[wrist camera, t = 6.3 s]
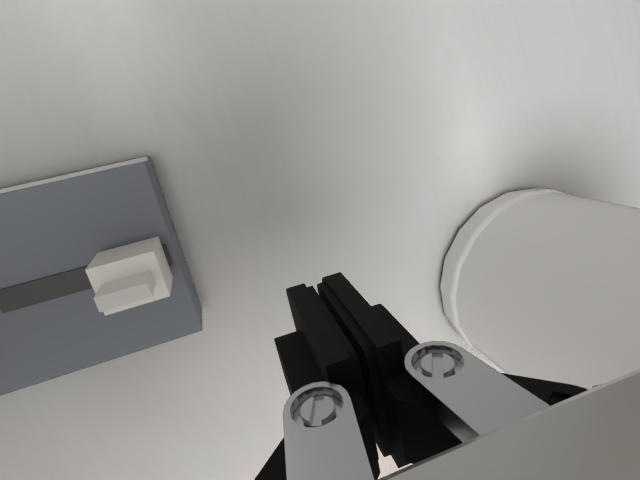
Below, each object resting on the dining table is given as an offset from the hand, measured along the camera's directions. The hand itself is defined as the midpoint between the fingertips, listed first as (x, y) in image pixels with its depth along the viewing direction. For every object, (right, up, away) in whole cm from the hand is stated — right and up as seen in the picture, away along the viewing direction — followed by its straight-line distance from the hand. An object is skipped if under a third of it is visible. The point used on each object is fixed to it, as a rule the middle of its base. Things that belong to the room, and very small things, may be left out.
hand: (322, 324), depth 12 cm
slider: (-10, +1, +9) cm, 14 cm away
